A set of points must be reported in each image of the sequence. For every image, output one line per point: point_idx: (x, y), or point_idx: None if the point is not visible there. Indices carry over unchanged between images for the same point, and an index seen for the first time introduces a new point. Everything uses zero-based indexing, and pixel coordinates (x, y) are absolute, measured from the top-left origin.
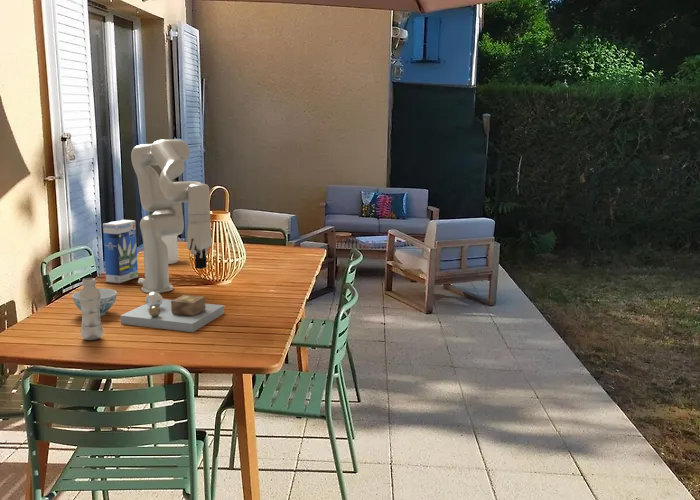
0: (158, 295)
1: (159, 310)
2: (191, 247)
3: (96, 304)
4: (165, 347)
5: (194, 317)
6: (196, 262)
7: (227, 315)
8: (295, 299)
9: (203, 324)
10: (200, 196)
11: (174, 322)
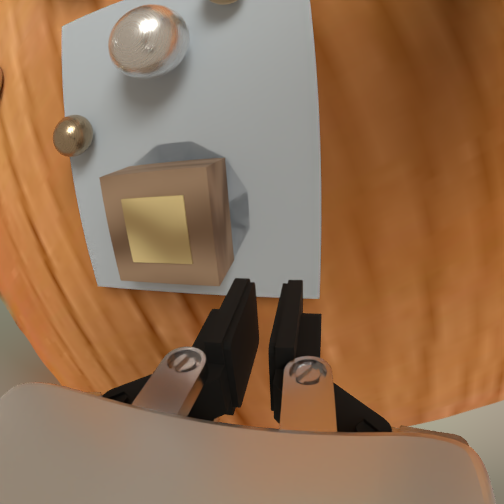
0: (131, 67)
1: (72, 156)
2: (88, 425)
3: None
4: (29, 262)
5: None
6: (203, 331)
7: None
8: (489, 394)
9: None
10: None
11: (84, 225)
